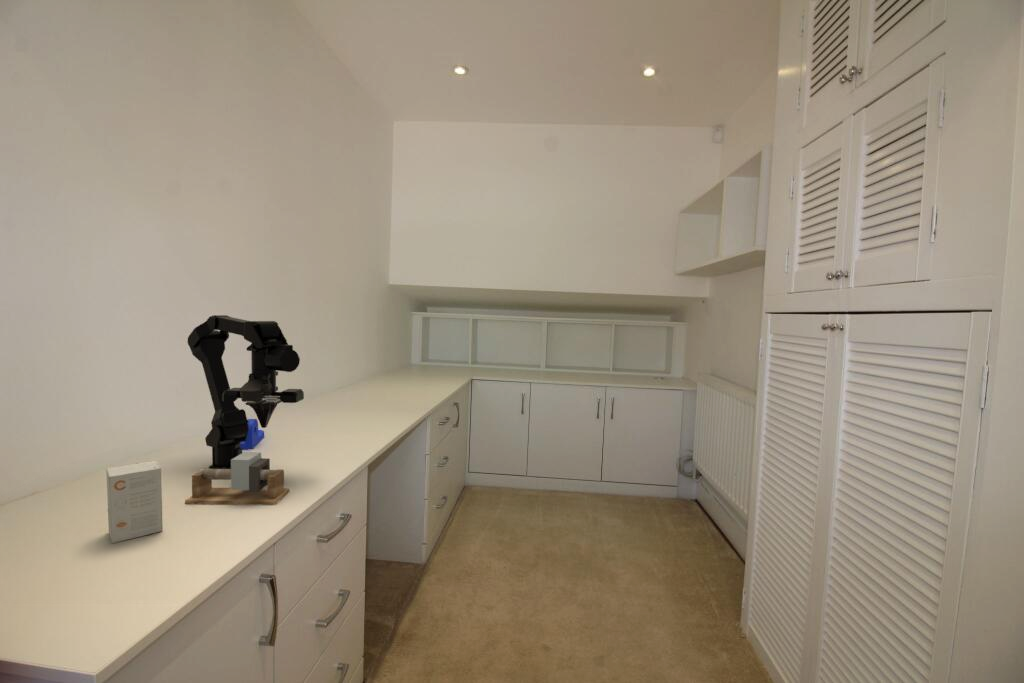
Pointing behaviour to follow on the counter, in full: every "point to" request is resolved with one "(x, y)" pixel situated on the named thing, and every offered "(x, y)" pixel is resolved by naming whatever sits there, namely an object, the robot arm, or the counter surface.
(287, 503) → the counter surface
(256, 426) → the bracket
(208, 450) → the counter surface
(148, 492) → the small box
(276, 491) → the wooden rail stand
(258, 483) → the collar
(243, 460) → the sleeve
